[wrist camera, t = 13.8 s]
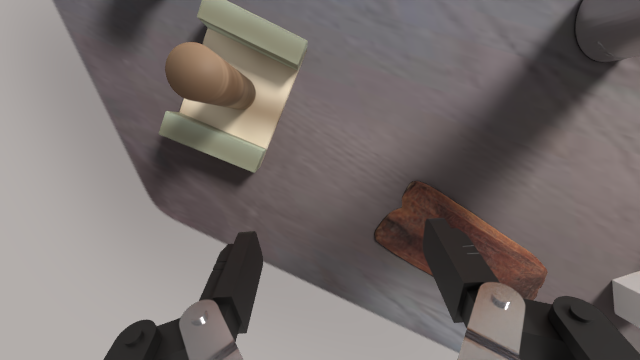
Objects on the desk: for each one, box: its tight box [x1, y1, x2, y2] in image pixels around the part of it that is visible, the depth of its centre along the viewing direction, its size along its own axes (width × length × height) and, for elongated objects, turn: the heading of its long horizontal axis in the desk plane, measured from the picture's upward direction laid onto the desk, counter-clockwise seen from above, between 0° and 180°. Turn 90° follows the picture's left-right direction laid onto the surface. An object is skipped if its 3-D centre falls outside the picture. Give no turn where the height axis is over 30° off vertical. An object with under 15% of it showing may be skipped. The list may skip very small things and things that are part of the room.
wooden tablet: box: [375, 181, 547, 300], centre depth 36 cm, size 26×2×10 cm
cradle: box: [159, 0, 307, 173], centre depth 28 cm, size 14×10×4 cm
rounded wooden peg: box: [165, 42, 256, 110], centre depth 23 cm, size 4×4×12 cm
